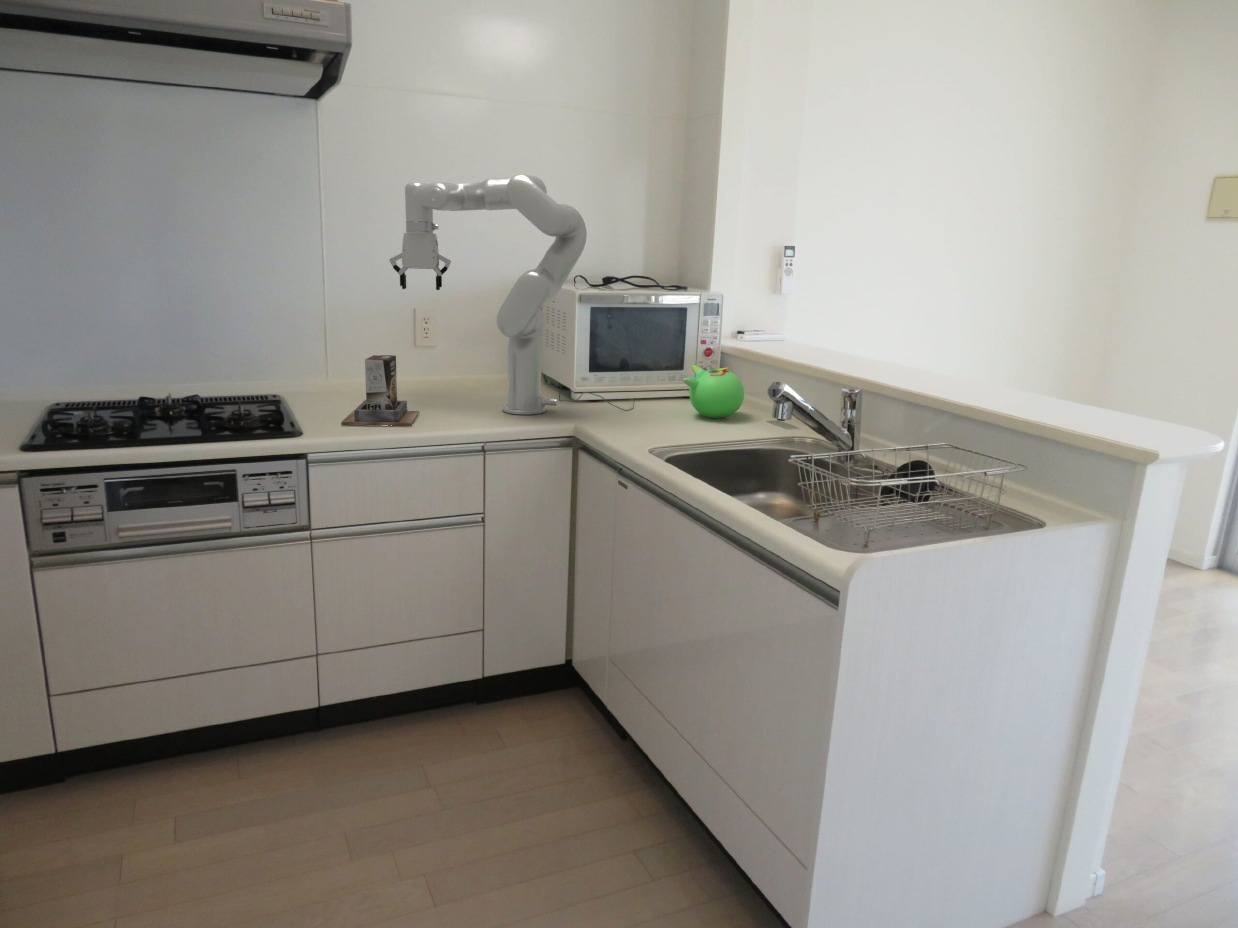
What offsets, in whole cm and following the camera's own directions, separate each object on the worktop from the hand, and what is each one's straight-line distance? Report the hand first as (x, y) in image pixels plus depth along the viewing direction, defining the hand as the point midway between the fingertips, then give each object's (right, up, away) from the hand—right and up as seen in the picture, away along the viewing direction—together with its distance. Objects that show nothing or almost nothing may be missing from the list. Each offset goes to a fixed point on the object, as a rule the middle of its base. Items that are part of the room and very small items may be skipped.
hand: (421, 289), depth 260 cm
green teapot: (+85, -37, +2) cm, 92 cm away
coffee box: (-7, -38, -16) cm, 42 cm away
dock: (-7, -39, -16) cm, 42 cm away
